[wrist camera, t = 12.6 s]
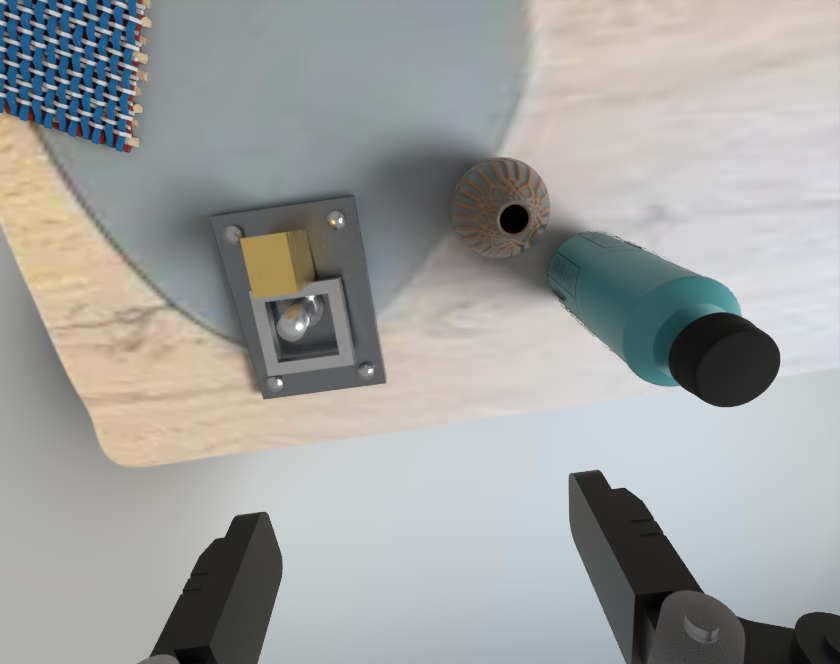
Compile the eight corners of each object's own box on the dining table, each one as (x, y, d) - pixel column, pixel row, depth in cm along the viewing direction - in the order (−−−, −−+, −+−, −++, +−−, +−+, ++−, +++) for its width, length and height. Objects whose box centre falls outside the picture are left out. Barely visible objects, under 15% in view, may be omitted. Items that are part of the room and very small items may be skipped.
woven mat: (161, -5, 32) (145, -14, 30) (143, 155, 35) (129, 156, 33) (-7, -67, 30) (-34, -81, 28) (-6, 107, 34) (-30, 105, 32)
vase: (442, 161, 36) (454, 167, 28) (533, 151, 36) (571, 153, 27) (450, 251, 38) (462, 280, 30) (534, 241, 38) (569, 267, 30)
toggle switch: (214, 215, 37) (180, 228, 31) (353, 195, 36) (344, 204, 31) (266, 393, 42) (245, 431, 37) (386, 377, 42) (383, 413, 37)
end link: (242, 238, 36) (209, 243, 30) (331, 225, 36) (315, 227, 30) (272, 371, 39) (247, 399, 33) (355, 360, 39) (345, 386, 33)
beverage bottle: (524, 277, 39) (632, 396, 21) (574, 208, 37) (744, 272, 19) (583, 316, 41) (734, 460, 22) (635, 252, 39) (848, 351, 20)
